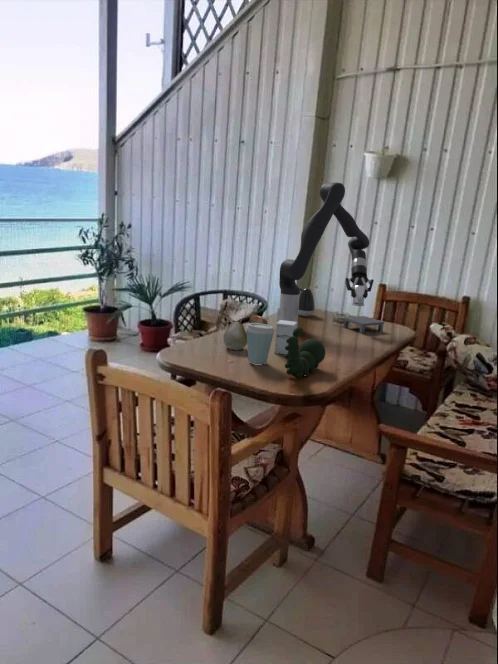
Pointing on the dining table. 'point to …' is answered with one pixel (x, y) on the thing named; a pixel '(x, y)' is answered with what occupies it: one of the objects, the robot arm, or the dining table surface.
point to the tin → (257, 319)
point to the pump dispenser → (306, 302)
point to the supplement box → (283, 335)
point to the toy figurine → (303, 354)
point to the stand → (363, 322)
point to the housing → (359, 295)
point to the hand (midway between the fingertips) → (359, 297)
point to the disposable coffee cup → (259, 342)
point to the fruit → (235, 336)
